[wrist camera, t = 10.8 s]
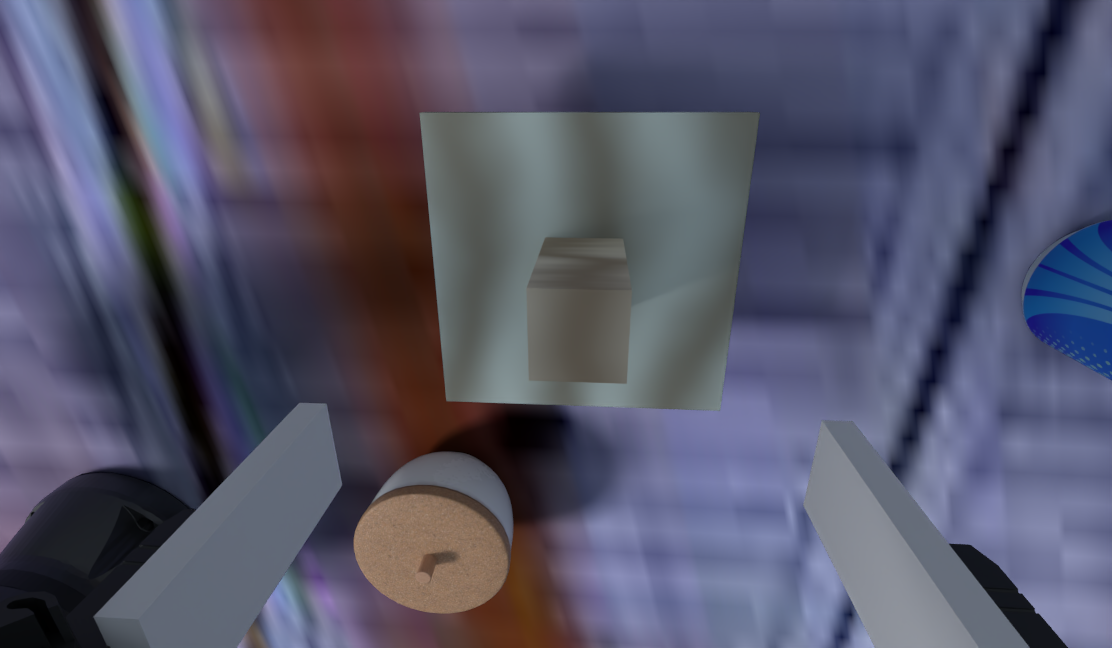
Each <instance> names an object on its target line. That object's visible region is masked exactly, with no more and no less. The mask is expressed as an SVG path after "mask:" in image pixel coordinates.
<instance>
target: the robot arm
mask: <svg viewBox="0 0 1112 648" xmlns="http://www.w3.org/2000/svg"><path fill="white" fill-rule="evenodd" d="M341 486H342V481H341V476H340V471H339V465H338V460H337V455H336V450H335V445H334V439H333V434H332V429H331V424H330V419H329V414H328V408H327V404H322V403H299V404H298V405H297V406H296V407H295V408H294V409H293V410H292V411H291V412H290V413H289V414H288V415H287V416H286V417H285V418H284V419H283V420H282V421H281V422H280V423H279V424H278V425H277V427H276V428H275V429H274V430H273V431H272V432H271V433H270V434H269V435H268V436H267V437H266V438H265V439H264V440H263V441H262V442H261V443H260V444H259V445H258V446H257V447H256V448H255V449H254V450H253V451H252V452H251V454H250V455H249V456H248V457H247V458H246V459H245V460H244V461H243V462H242V463H241V464H240V465H239V466H238V467H237V468H236V469H235V470H234V471H233V472H232V473H231V474H230V475H229V476H228V477H227V478H226V479H225V481H224V482H223V483H222V484H221V485H220V486H219V487H218V488H217V489H216V490H215V491H214V492H213V493H212V494H211V495H210V496H209V497H208V498H207V499H206V500H205V501H204V502H203V503H202V504H201V505H200V506H199V508H198V509H197V510H195V509H188V508H187V507H186V506H185V505H184V504H182V503H181V502H180V501H179V500H177V499H176V498H174V497H173V496H171V495H170V494H168V493H167V492H165V491H163V490H162V489H160V488H158V487H156V486H154V485H152V484H149V483H147V482H144V481H142V480H139V479H136V478H133V477H129V476H125V475H120V474H113V473H92V474H85V475H81V476H78V477H75V478H73V479H71V480H69V481H67V482H65V483H64V484H63V485H61V486H60V487H58V488H57V489H56V490H54V491H53V492H52V493H50V494H49V495H48V496H46V497H45V498H44V499H42V500H41V501H40V502H39V503H38V504H37V505H36V506H35V507H34V508H33V510H32V511H31V513H30V515H29V516H28V517H27V519H26V521H25V524H24V525H23V526H22V528H21V529H20V530H19V531H18V532H17V534H16V535H15V536H14V537H13V538H12V540H11V541H10V542H9V543H8V545H7V546H6V547H5V548H4V550H3V551H2V552H1V554H0V648H237V646H238V645H239V643H240V642H241V640H242V639H243V637H244V636H245V634H246V633H247V631H248V630H249V628H250V626H251V625H252V623H253V622H254V620H255V619H256V617H257V616H258V614H259V613H260V611H261V610H262V608H263V606H264V605H265V603H266V602H267V600H268V599H269V597H270V596H271V594H272V593H273V591H274V590H275V588H276V586H277V585H278V583H279V582H280V580H281V579H282V577H283V576H284V574H285V573H286V571H287V570H288V568H289V566H290V565H291V563H292V562H293V560H294V559H295V557H296V556H297V554H298V553H299V551H300V550H301V548H302V546H303V545H304V543H305V542H306V540H307V539H308V537H309V536H310V534H311V533H312V531H313V530H314V528H315V526H316V525H317V523H318V522H319V520H320V519H321V517H322V516H323V514H324V513H325V511H326V510H327V508H328V506H329V505H330V503H331V502H332V500H333V499H334V497H335V496H336V494H337V493H338V491H339V490H340V488H341ZM804 507H805V509H806V511H807V513H808V515H809V517H810V519H811V521H812V523H813V525H814V527H815V529H816V531H817V533H818V535H819V537H820V539H821V541H822V543H823V545H824V547H825V549H826V551H827V553H828V555H829V557H830V559H831V561H832V563H833V565H834V567H835V569H836V571H837V573H838V575H839V577H840V579H841V581H842V583H843V585H844V587H845V589H846V591H847V593H848V595H849V597H850V599H851V601H852V603H853V605H854V607H855V609H856V611H857V613H858V615H859V617H860V619H861V621H862V623H863V625H864V627H865V629H866V631H867V633H868V635H869V637H870V639H871V641H872V643H873V645H874V647H875V648H1068V647H1067V646H1066V645H1065V644H1064V643H1063V641H1062V640H1061V639H1060V638H1059V637H1058V635H1057V634H1056V633H1055V632H1054V631H1053V630H1052V628H1051V627H1050V626H1049V625H1048V624H1047V623H1046V621H1045V620H1044V619H1043V618H1042V617H1041V616H1040V614H1036V613H1035V610H1034V609H1035V608H1034V607H1033V606H1032V605H1031V604H1030V603H1029V601H1028V600H1027V599H1026V598H1025V597H1024V596H1023V594H1019V593H1018V589H1017V587H1016V586H1015V585H1014V584H1013V583H1012V581H1011V580H1010V579H1009V578H1008V577H1007V576H1006V574H1005V573H1004V572H1003V571H1002V570H1001V569H1000V567H999V566H998V565H997V564H995V563H994V562H993V561H991V560H990V559H989V558H987V557H986V556H984V555H983V554H982V553H980V552H979V551H978V550H976V549H975V548H974V547H972V546H971V545H965V544H948V543H947V541H946V540H945V539H944V537H943V536H942V535H941V534H940V532H939V531H938V530H937V528H936V527H935V526H934V525H933V523H932V522H931V521H930V520H929V518H928V517H927V516H926V514H925V513H924V512H923V511H922V509H921V508H920V507H919V505H918V504H917V503H916V502H915V500H914V499H913V498H912V497H911V495H910V494H909V493H908V491H907V490H906V489H905V488H904V486H903V485H902V484H901V482H900V481H899V480H898V479H897V477H896V476H895V475H894V474H893V472H892V471H891V470H890V468H889V467H888V466H887V465H886V463H885V462H884V461H883V459H882V458H881V457H880V456H879V454H878V453H877V452H876V451H875V449H874V448H873V447H872V445H871V444H870V443H869V442H868V440H867V439H866V438H865V436H864V435H863V434H862V433H861V431H860V430H859V429H858V428H857V426H856V425H855V424H854V422H853V421H824V420H822V423H821V427H820V432H819V436H818V441H817V446H816V450H815V455H814V459H813V464H812V468H811V473H810V478H809V482H808V487H807V491H806V496H805V500H804Z"/></svg>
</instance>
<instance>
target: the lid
mask: <svg viewBox="0 0 1112 648" xmlns="http://www.w3.org/2000/svg"><path fill="white" fill-rule="evenodd" d="M759 116H760V113H758V112H422V113H420V122H421V133H422V144H423V154H424V165H425V176H426V187H427V197H428V208H429V219H430V230H431V240H432V251H433V262H434V273H435V283H436V294H437V305H438V316H439V326H440V337H441V348H442V359H443V369H444V380H445V391H446V401H461V402H489V403H517V404H545V405H573V406H601V407H629V408H656V409H684V410H712V411H720V407H721V400H722V392H723V385H724V377H725V370H726V362H727V355H728V347H729V340H730V332H731V325H732V317H733V310H734V302H735V295H736V288H737V280H738V273H739V265H740V258H741V250H742V243H743V235H744V228H745V220H746V213H747V205H748V198H749V190H750V183H751V176H752V168H753V161H754V153H755V146H756V138H757V131H758V123H759Z"/></svg>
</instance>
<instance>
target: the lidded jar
mask: <svg viewBox="0 0 1112 648" xmlns="http://www.w3.org/2000/svg"><path fill="white" fill-rule="evenodd" d="M512 537H513V513H512V506H511V502H510V498H509V495H508V493H507V490H506V488H505V486H504V484H503V483H502V481H501V480H500V479H499V477H498V476H497V474H496V473H495V472H494V471H493V470H492V469H491V468H490V467H488V466H487V465H486V464H485V463H483V462H481V461H480V460H479V459H477V458H475V457H473V456H471V455H469V454H465V453H461V452H448V451H442V452H434V453H430V454H426V455H422V456H420V457H418V458H415V459H413V460H412V461H410V462H408V463H407V464H405V465H404V466H402V467H401V468H400V469H399V470H397V471H396V472H395V473H394V474H393V475H392V476H391V477H390V478H389V479H388V480H387V481H386V483H385V484H384V485H383V486H382V488H381V489H380V491H379V492H378V493H377V495H376V496H375V498H374V500H373V501H372V503H371V505H370V506H369V507H368V508H367V510H366V511H365V513H364V514H363V515H362V517H361V519H360V521H359V523H358V525H357V527H356V530H355V535H354V551H355V556H356V560H357V562H358V564H359V567H360V569H361V570H362V572H363V574H364V575H365V577H366V578H367V579H368V580H369V581H370V583H371V584H372V585H373V586H374V587H375V588H377V589H378V590H379V591H380V592H381V593H383V594H384V595H386V596H387V597H389V598H390V599H392V600H394V601H396V602H397V603H399V604H402V605H404V606H407V607H409V608H413V609H416V610H420V611H424V612H431V613H456V612H461V611H467V610H469V609H472V608H475V607H477V606H479V605H481V604H483V603H485V602H486V601H488V600H489V599H490V598H492V597H493V596H494V595H495V594H496V593H497V592H498V591H499V590H500V589H501V587H502V586H503V584H504V582H505V580H506V578H507V575H508V571H509V566H510V559H511V545H512Z"/></svg>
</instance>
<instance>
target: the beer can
mask: <svg viewBox="0 0 1112 648" xmlns="http://www.w3.org/2000/svg"><path fill="white" fill-rule="evenodd" d="M1021 298H1022V304H1023V305H1022V307H1023V315H1024V319H1025V321H1026V324H1027V326H1028V327H1029V329H1030V330H1031V332H1032V333H1033V334H1034V335H1035V336H1036V337H1037V338H1038V339H1040V340H1041V341H1042V342H1044V343H1046V344H1047V345H1049V346H1051V347H1053V348H1055V349H1056V350H1058V351H1060V352H1062V353H1063V354H1065V355H1067V356H1069V357H1071V358H1072V359H1074V360H1076V361H1078V362H1080V363H1081V364H1083V365H1085V366H1087V367H1089V368H1090V369H1092V370H1094V371H1096V372H1098V373H1099V374H1101V375H1103V376H1105V377H1106V378H1108V379H1110V380H1112V220H1107V221H1103V222H1099V223H1096V224H1093V225H1090V226H1087V227H1085V228H1083V229H1081V230H1078V231H1076V232H1073V233H1071V234H1068V235H1066V236H1064V237H1063V238H1061V239H1059V240H1057V241H1056V242H1055V243H1053V244H1052V245H1050V246H1049V247H1048V248H1047V249H1046V250H1044V251H1043V252H1042V253H1041V254H1040V255H1039V256H1038V258H1037V259H1036V260H1035V261H1034V263H1033V264H1032V265H1031V267H1030V269H1029V270H1028V272H1027V274H1026V276H1025V279H1024V282H1023V286H1022V297H1021Z"/></svg>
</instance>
